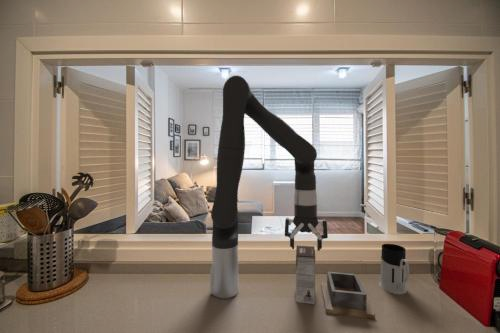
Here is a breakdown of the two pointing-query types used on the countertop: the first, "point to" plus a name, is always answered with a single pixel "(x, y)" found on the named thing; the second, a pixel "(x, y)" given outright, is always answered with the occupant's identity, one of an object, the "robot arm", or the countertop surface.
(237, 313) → the countertop surface
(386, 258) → the glass holder
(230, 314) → the countertop surface
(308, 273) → the coffee box
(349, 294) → the dock
